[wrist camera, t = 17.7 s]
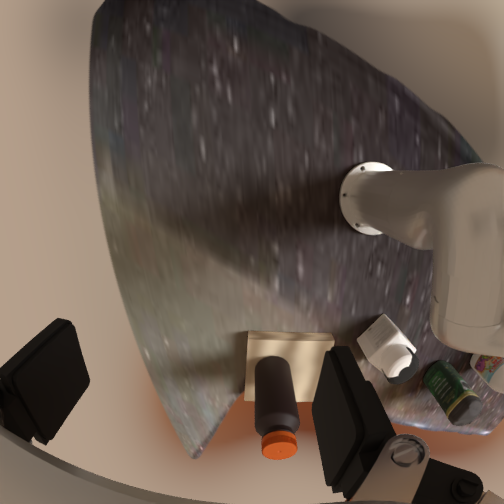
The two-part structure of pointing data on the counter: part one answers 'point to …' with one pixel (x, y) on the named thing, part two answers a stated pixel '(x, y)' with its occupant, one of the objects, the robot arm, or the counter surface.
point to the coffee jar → (452, 393)
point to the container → (389, 350)
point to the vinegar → (275, 408)
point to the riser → (289, 358)
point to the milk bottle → (489, 370)
